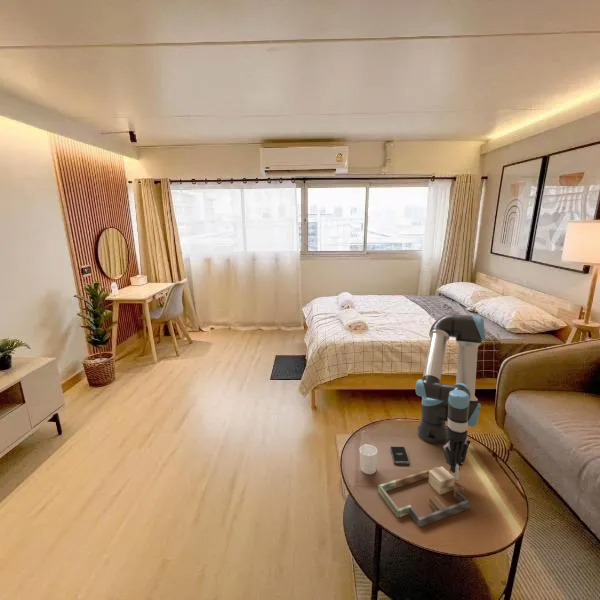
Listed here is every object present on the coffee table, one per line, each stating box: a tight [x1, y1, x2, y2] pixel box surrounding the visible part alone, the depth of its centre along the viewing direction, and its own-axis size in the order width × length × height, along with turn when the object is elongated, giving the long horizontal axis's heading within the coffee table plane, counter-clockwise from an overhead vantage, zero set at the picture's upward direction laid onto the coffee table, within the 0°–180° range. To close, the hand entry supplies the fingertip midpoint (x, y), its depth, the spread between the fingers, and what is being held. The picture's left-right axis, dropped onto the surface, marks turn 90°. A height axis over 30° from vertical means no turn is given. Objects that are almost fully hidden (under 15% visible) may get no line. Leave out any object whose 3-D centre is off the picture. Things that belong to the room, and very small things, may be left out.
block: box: [428, 466, 456, 495], centre depth 136 cm, size 7×7×6 cm
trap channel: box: [377, 465, 471, 528], centre depth 131 cm, size 31×20×3 cm, turn 108°
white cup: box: [359, 444, 378, 475], centre depth 148 cm, size 8×8×10 cm
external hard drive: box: [389, 445, 410, 466], centre depth 156 cm, size 7×11×2 cm, turn 175°
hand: (454, 477), depth 139 cm, fingers closed
